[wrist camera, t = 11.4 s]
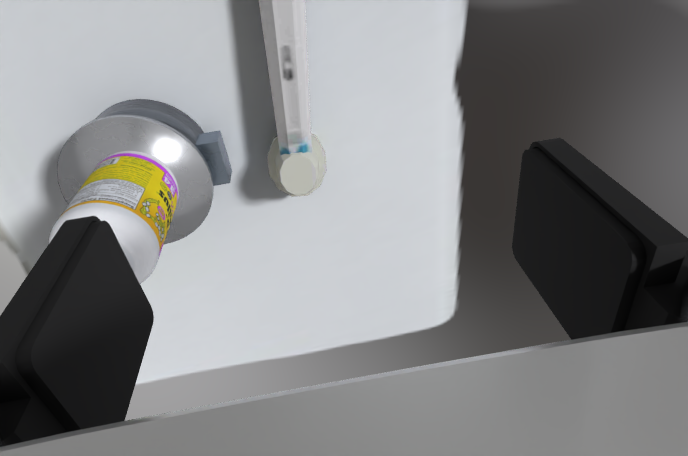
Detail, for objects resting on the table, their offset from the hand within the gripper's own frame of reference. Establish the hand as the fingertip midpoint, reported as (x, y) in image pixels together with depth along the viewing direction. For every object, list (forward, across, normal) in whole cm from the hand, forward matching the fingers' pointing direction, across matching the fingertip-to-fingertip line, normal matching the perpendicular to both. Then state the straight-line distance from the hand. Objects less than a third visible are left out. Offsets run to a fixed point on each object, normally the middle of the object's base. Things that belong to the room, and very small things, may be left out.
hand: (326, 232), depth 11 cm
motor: (+32, +15, +11) cm, 37 cm away
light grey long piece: (+33, +1, +3) cm, 33 cm away
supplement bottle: (+27, +15, +11) cm, 32 cm away
